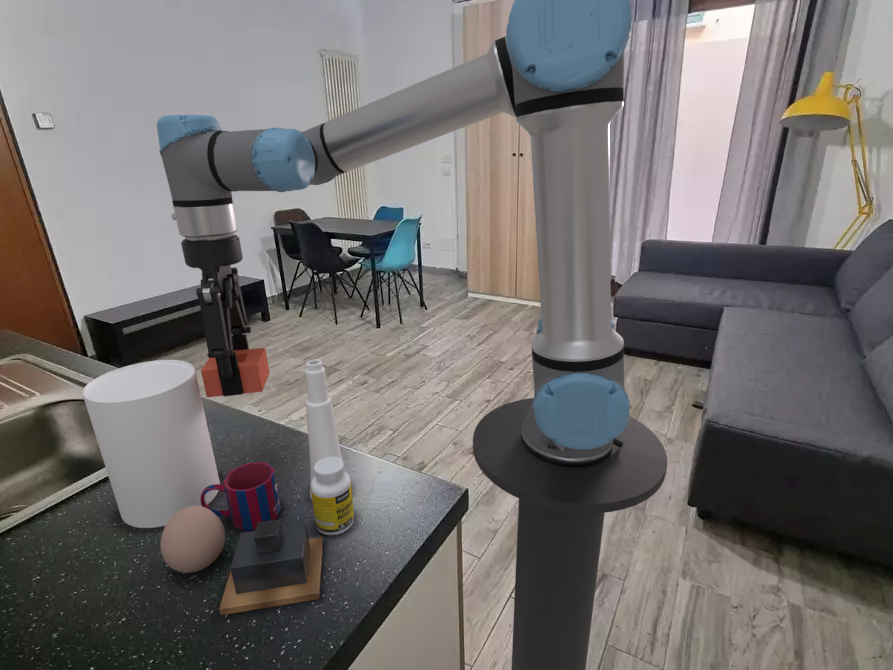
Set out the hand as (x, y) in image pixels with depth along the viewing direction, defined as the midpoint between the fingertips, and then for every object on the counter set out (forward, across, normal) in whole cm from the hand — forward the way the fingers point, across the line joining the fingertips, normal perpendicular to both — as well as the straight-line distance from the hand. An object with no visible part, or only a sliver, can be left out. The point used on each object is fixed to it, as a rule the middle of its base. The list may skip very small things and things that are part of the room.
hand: (239, 382), depth 76 cm
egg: (+16, +20, -3) cm, 26 cm away
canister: (+16, +5, -11) cm, 20 cm away
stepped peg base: (+16, +24, +7) cm, 30 cm away
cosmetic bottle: (+16, +9, +13) cm, 22 cm away
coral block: (0, 0, 0) cm, 0 cm away
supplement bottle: (+16, +16, +14) cm, 27 cm away
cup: (+16, +12, +1) cm, 20 cm away
